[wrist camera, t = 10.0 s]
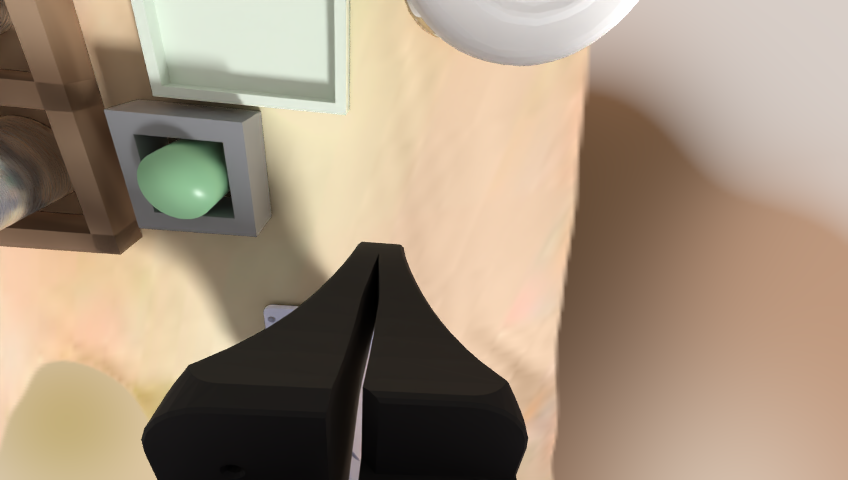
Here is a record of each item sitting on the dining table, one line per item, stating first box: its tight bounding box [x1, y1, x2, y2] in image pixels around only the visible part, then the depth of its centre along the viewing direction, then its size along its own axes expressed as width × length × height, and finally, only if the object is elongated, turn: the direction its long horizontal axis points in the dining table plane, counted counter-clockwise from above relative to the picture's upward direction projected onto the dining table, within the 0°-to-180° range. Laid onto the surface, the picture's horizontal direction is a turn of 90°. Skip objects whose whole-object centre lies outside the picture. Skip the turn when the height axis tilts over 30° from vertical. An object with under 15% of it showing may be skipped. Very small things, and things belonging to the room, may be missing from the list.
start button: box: [137, 138, 230, 219], centre depth 19 cm, size 3×3×3 cm
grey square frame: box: [104, 99, 272, 237], centre depth 20 cm, size 6×6×2 cm
